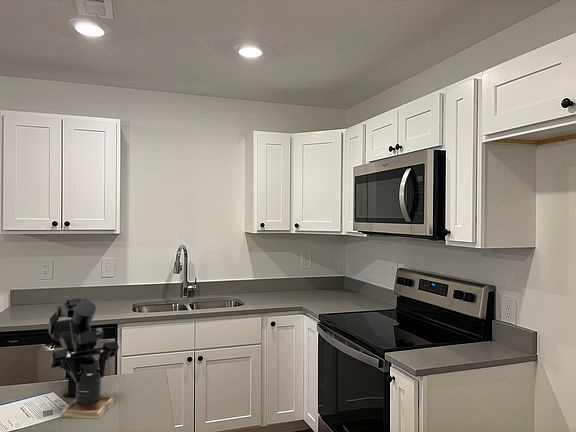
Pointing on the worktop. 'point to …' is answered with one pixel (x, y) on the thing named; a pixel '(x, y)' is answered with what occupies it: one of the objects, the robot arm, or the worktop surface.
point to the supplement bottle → (88, 383)
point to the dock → (88, 409)
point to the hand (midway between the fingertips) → (90, 379)
